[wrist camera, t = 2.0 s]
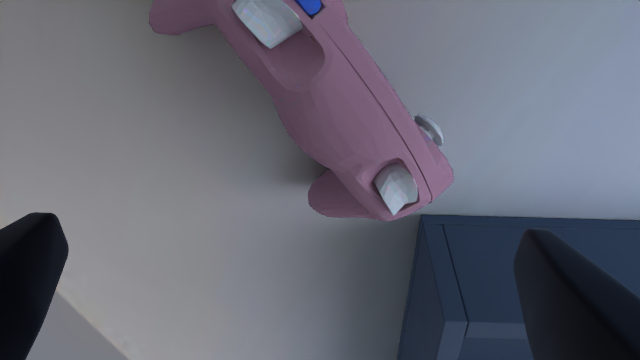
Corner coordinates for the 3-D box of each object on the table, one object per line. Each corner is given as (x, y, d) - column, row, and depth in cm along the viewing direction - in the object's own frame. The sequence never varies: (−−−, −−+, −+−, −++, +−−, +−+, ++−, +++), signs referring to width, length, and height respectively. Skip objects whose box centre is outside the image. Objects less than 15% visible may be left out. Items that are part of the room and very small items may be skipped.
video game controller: (395, 136, 20) (512, 191, 14) (313, 210, 20) (394, 300, 14) (240, -85, 16) (310, -147, 10) (132, 7, 16) (131, 4, 9)
